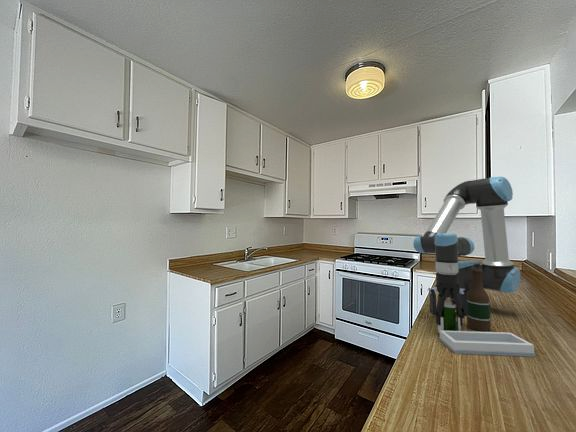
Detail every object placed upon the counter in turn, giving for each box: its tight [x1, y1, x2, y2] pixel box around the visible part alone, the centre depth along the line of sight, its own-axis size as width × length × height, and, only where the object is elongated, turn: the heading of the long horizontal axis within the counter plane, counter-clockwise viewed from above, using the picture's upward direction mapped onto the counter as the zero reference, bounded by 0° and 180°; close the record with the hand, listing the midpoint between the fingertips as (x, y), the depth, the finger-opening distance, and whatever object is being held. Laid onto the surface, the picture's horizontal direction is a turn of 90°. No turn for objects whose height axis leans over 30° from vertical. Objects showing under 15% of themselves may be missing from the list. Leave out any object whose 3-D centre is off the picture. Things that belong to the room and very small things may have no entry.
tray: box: [438, 330, 536, 358], centre depth 85 cm, size 10×24×4 cm, turn 84°
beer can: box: [441, 300, 458, 331], centre depth 95 cm, size 5×5×12 cm
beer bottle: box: [466, 268, 492, 332], centre depth 101 cm, size 8×8×24 cm
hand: (449, 333), depth 95 cm, fingers closed on beer can, 5 cm apart
